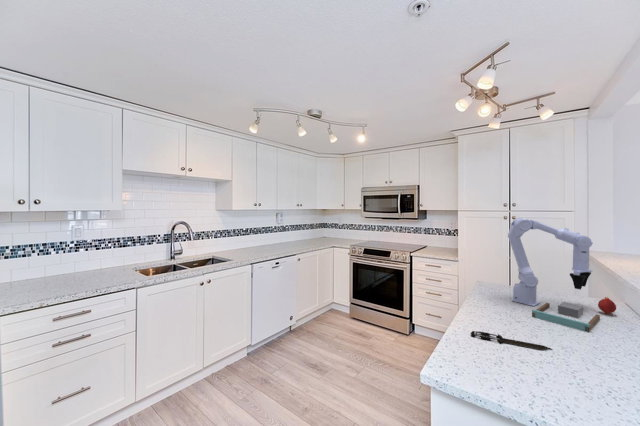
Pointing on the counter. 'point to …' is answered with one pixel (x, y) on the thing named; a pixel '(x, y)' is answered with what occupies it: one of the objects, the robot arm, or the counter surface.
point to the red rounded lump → (607, 305)
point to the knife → (509, 341)
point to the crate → (570, 310)
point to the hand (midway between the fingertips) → (580, 287)
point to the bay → (564, 319)
